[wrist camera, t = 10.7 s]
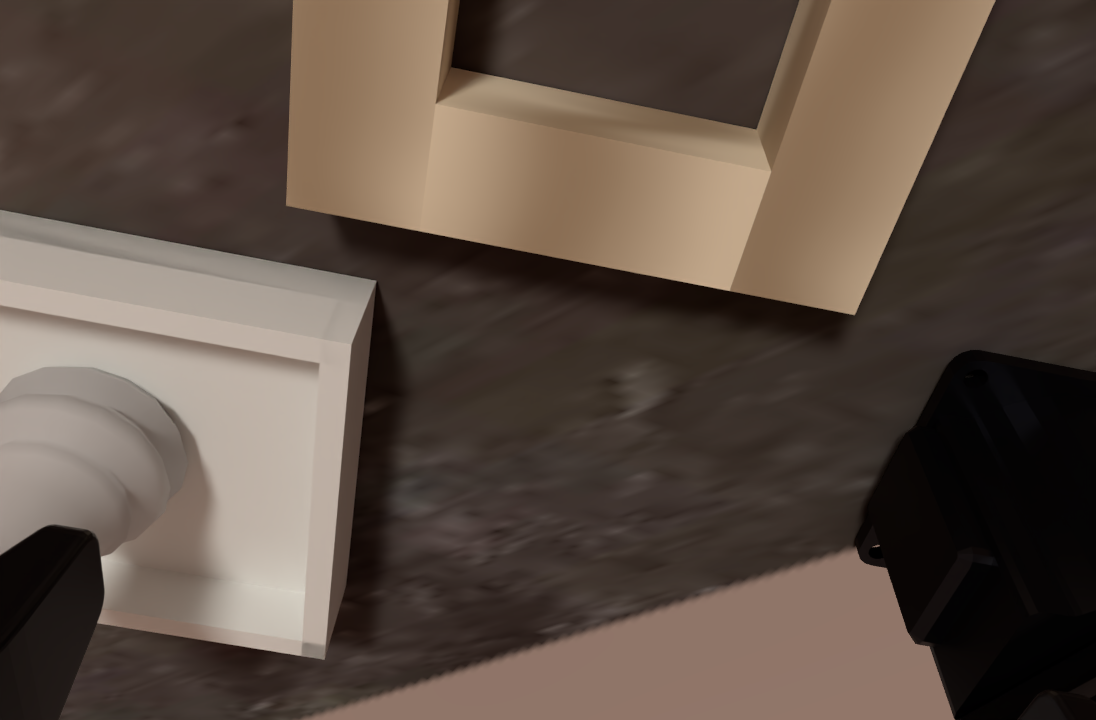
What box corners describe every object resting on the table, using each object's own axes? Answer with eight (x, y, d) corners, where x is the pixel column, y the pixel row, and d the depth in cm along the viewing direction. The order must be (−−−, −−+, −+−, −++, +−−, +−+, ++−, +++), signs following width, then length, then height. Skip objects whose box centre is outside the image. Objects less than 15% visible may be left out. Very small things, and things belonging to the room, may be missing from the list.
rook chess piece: (156, 527, 24) (-12, 837, 18) (-20, 447, 23) (-272, 749, 16) (224, 415, 22) (61, 720, 15) (33, 319, 21) (-233, 608, 14)
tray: (376, 281, 21) (351, 344, 19) (346, 585, 26) (324, 659, 24) (-190, 174, 20) (-281, 228, 18) (-96, 511, 26) (-157, 581, 24)
